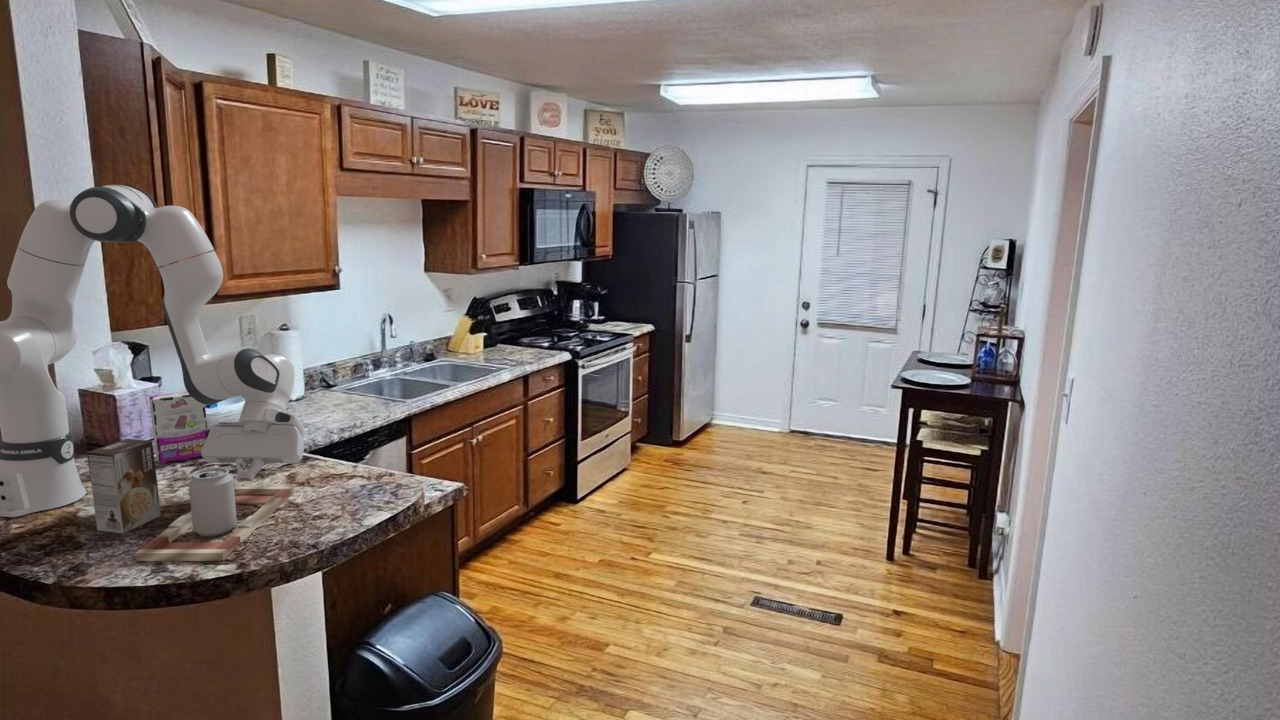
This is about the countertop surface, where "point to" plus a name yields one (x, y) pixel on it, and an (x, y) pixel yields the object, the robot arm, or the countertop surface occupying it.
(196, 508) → the can
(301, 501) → the countertop surface
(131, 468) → the coffee box
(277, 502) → the flat rectangular frame
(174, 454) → the candy bar box
